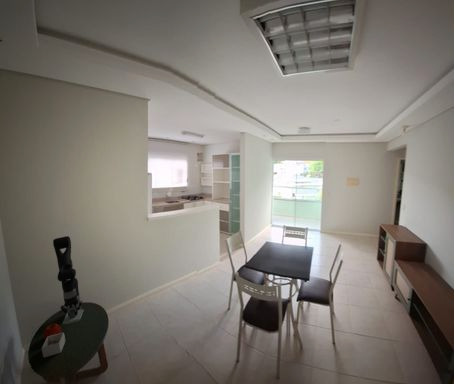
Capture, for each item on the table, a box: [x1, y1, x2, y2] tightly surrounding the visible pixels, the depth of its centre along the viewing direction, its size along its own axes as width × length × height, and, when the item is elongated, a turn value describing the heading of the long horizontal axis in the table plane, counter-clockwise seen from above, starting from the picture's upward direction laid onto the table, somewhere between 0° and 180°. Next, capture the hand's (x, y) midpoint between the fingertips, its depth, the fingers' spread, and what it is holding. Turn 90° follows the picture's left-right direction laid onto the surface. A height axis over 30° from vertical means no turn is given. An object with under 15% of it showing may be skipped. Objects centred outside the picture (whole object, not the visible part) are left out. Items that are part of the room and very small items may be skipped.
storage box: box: [41, 332, 66, 358], centre depth 152 cm, size 10×10×8 cm
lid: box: [62, 308, 85, 325], centre depth 156 cm, size 11×11×7 cm
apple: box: [42, 323, 62, 341], centre depth 162 cm, size 11×11×11 cm
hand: (73, 315), depth 157 cm, fingers closed on lid, 3 cm apart
